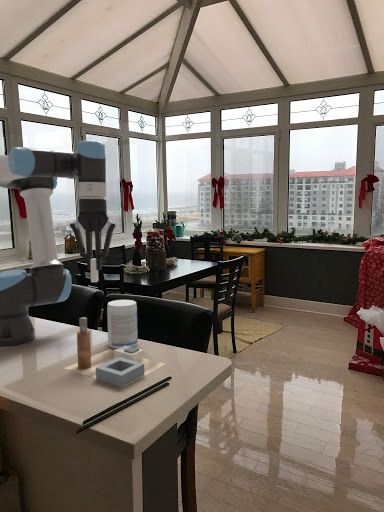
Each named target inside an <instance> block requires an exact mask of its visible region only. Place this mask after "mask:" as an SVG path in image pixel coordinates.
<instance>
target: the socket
mask: <svg viewBox="0 0 384 512" xmlns="http://www.w3.org/2000/svg"><path fill="white" fill-rule="evenodd" d="M143 375H144V364H143V363H140V362H136V361H132V360H129V359H125V358H121V357H118V358H116V359H114V360H111V361H109V362H107V363H105V364H103V365H101V366H98V367H96V379H95V380H98V379H99V381H101V380H102V382H104V381H105V383H108V384H111V385H113V386H117V387H120V386H121V387H120V388H123V386H124V385H126V384H128V383H130V382H132V381H134V380H135V379H137V378H139V377H141V376H143ZM143 377H144V376H143ZM134 382H135V381H134Z"/></svg>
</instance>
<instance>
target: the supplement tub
mask: <svg viewBox="0 0 384 512" xmlns="http://www.w3.org/2000/svg"><path fill="white" fill-rule="evenodd" d="M106 309H107V311H106V314H107V315H106V316H107V338H108V340H107V343H108V346H109V347H111V348H113V349H118V348H120V347H123V346H125V345H126V346H130V347H135V346H137V345H138V342H139V341H138V339H139V338H138V307H137V301H135V300H133V299H115V300H112V301H108V303H107V308H106Z"/></svg>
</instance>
